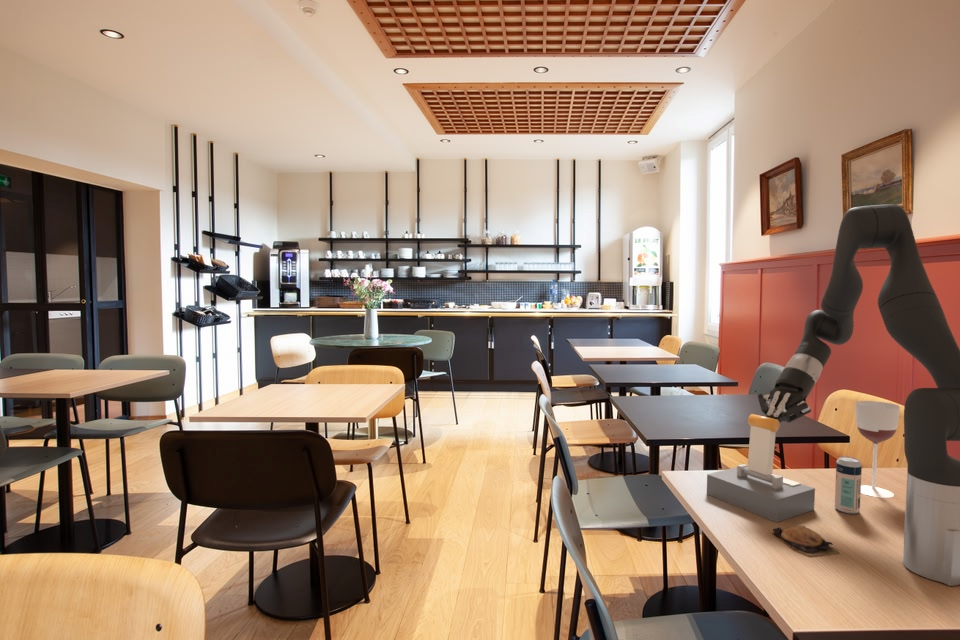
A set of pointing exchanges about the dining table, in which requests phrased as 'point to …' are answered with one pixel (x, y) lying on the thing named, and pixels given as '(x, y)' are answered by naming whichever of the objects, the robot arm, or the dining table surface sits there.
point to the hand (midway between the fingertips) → (766, 431)
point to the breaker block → (761, 493)
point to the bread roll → (805, 541)
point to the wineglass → (876, 434)
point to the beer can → (848, 485)
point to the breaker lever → (761, 447)
